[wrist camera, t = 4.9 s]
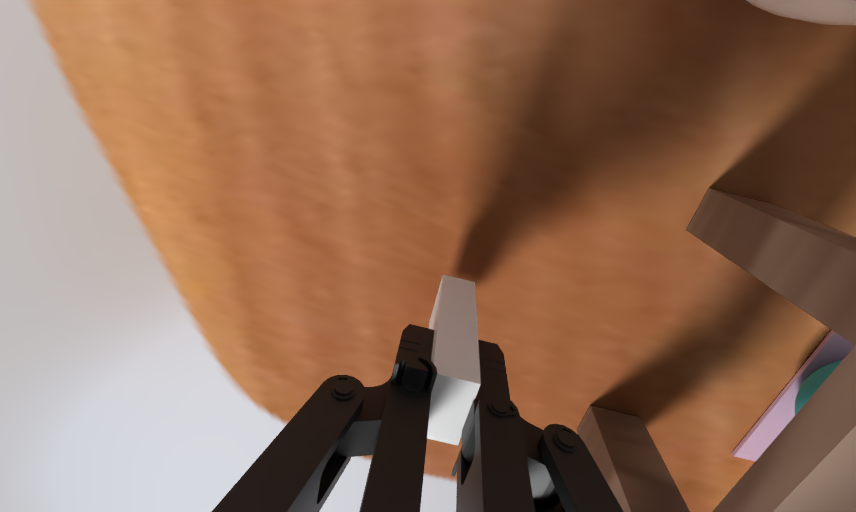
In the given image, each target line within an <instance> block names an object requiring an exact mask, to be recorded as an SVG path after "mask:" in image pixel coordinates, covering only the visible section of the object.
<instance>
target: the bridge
mask: <svg viewBox="0 0 856 512" xmlns="http://www.w3.org/2000/svg"><path fill="white" fill-rule="evenodd" d="M686 230H687V231H688V232H690V233H691V234H693V235H694V236H695V237H697V238H698V239H700V240H701V241H703V242H704V243H706V244H707V245H709V246H710V247H712V248H713V249H714V250H716V251H717V252H719V253H720V254H722V255H723V256H725V257H726V258H728V259H729V260H730V261H732V262H733V263H735V264H736V265H738V266H739V267H741V268H742V269H744V270H745V271H747V272H748V273H749V274H751V275H752V276H754V277H755V278H757V279H758V280H760V281H761V282H763V283H764V284H766V285H767V286H768V287H770V288H771V289H773V290H774V291H776V292H777V293H779V294H780V295H782V296H783V297H785V298H786V299H787V300H789V301H790V302H792V303H793V304H795V305H796V306H798V307H799V308H801V309H802V310H803V311H805V312H806V313H808V314H809V315H811V316H812V317H814V318H815V319H817V320H818V321H820V322H821V323H822V324H824V325H825V326H827V327H828V328H830V329H831V330H833V331H834V332H836V333H837V334H839V335H840V336H841V337H843V338H844V339H846V340H847V341H849V342H850V343H852V344H853V345H855V346H854V348H853V349H852V350H851V351H850V352H849V353H848V355H847V356H846V357H845V358H844V359H843V360H842V362H841V363H840V364H839V365H838V366H837V367H836V369H835V370H834V371H833V372H832V373H831V374H830V375H829V377H828V378H827V379H826V380H825V381H824V382H823V384H822V385H821V386H820V387H819V388H818V389H817V391H816V392H815V393H814V394H813V395H812V396H811V398H810V399H809V400H808V401H807V402H806V403H805V405H804V406H803V407H802V408H801V409H800V410H799V412H798V413H797V414H796V415H795V416H794V417H793V419H792V420H791V421H790V422H789V423H788V424H787V426H786V427H785V428H784V429H783V430H782V431H781V433H780V434H779V435H778V436H777V437H776V438H775V439H774V441H773V442H772V443H771V444H770V445H769V446H768V448H767V449H766V450H765V451H764V452H763V453H762V455H761V456H760V457H759V458H758V459H757V460H756V462H755V463H754V464H753V465H752V466H751V467H750V469H749V470H748V471H747V472H746V473H745V474H744V476H743V477H742V478H741V479H740V480H739V481H738V483H737V484H736V485H735V486H734V487H733V488H732V490H731V491H730V492H729V493H728V494H727V495H726V497H725V498H724V499H723V500H722V501H721V502H720V504H719V505H718V506H717V507H716V508H715V509H714V510H713V512H856V237H853V236H851V235H848V234H846V233H843V232H841V231H838V230H836V229H834V228H831V227H829V226H826V225H824V224H821V223H819V222H816V221H814V220H812V219H809V218H807V217H804V216H802V215H799V214H797V213H794V212H792V211H789V210H787V209H785V208H782V207H780V206H777V205H774V204H770V203H766V202H762V201H758V200H754V199H751V198H747V197H743V196H739V195H735V194H731V193H727V192H723V191H719V190H715V189H711V188H709V189H708V191H707V193H706V195H705V197H704V198H703V200H702V202H701V204H700V206H699V208H698V209H697V211H696V213H695V215H694V217H693V219H692V220H691V222H690V224H689V226H688V228H687V229H686ZM577 432H578V435H579V436H580V438H581V439H582V440H583V442H584V443H585V445H586V447H587V448H588V450H589V452H590V454H591V455H592V457H593V459H594V461H595V462H596V464H597V466H598V468H599V469H600V471H601V473H602V475H603V476H604V478H605V480H606V482H607V483H608V485H609V487H610V489H611V490H612V492H613V494H614V496H615V497H616V499H617V501H618V503H619V504H620V506H621V508H622V510H623V511H624V512H690V511H689V509H688V507H687V505H686V503H685V501H684V499H683V498H682V496H681V494H680V492H679V490H678V488H677V486H676V484H675V482H674V480H673V478H672V476H671V475H670V473H669V471H668V469H667V467H666V465H665V463H664V461H663V459H662V457H661V455H660V453H659V452H658V450H657V448H656V446H655V444H654V442H653V440H652V438H651V436H650V434H649V432H648V430H647V429H646V427H645V425H644V423H643V421H642V419H641V418H640V417H636V416H632V415H628V414H624V413H619V412H615V411H611V410H607V409H603V408H598V407H594V406H590V407H589V409H588V410H587V412H586V414H585V416H584V418H583V420H582V421H581V423H580V425H579V427H578V429H577Z"/></svg>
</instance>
